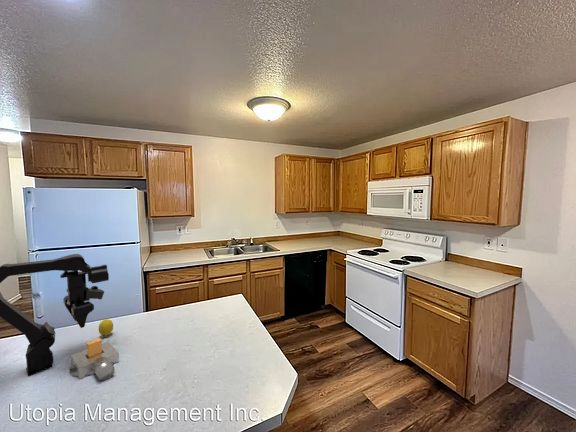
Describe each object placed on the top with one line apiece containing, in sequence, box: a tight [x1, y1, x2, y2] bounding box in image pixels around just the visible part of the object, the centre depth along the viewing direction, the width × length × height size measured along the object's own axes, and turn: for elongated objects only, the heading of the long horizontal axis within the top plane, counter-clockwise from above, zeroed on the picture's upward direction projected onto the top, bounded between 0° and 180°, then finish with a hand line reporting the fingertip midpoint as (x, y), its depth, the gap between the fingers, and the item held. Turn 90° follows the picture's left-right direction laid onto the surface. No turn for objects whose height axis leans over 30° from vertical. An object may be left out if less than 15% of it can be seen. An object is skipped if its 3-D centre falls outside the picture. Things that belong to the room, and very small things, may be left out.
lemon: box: [98, 318, 114, 337], centre depth 116 cm, size 6×6×8 cm
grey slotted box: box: [69, 341, 120, 381], centre depth 94 cm, size 15×22×5 cm
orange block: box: [86, 337, 103, 359], centre depth 96 cm, size 4×2×8 cm, turn 140°
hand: (79, 323), depth 101 cm, fingers open, 9 cm apart
